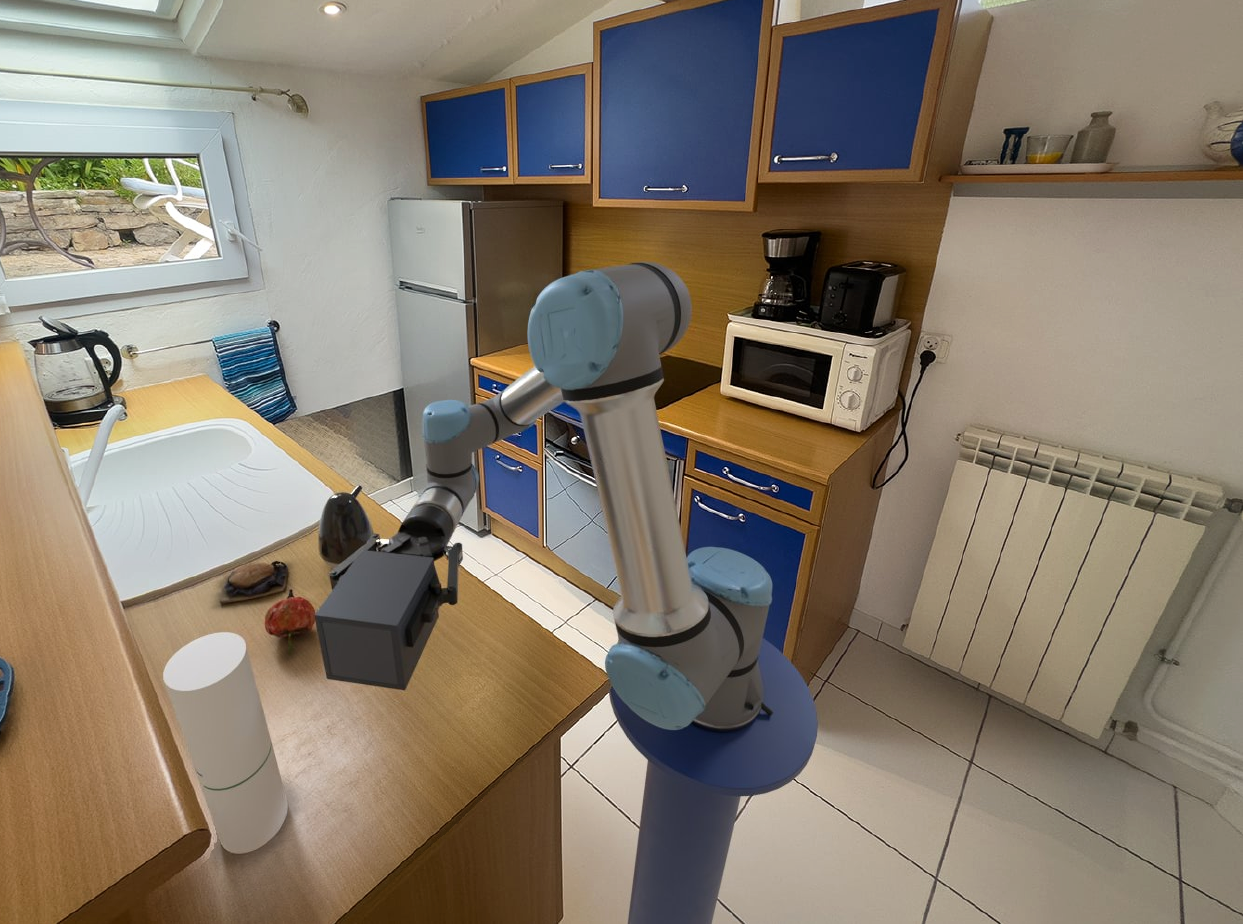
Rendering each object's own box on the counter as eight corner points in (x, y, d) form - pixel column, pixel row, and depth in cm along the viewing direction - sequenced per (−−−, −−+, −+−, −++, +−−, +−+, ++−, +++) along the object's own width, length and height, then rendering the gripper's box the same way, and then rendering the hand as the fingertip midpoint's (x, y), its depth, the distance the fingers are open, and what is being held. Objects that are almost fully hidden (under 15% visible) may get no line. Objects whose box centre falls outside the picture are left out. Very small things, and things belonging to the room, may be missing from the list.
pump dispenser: (389, 553, 109) (381, 487, 104) (351, 586, 101) (340, 515, 95) (349, 539, 113) (339, 474, 107) (310, 570, 105) (296, 501, 99)
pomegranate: (320, 654, 89) (326, 590, 94) (300, 650, 83) (308, 582, 88) (274, 659, 89) (283, 595, 94) (250, 655, 83) (261, 586, 88)
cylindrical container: (266, 776, 69) (224, 622, 59) (300, 811, 65) (260, 653, 56) (207, 827, 64) (149, 666, 54) (239, 869, 60) (184, 704, 50)
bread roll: (218, 607, 95) (213, 591, 94) (226, 576, 103) (222, 560, 101) (285, 593, 99) (281, 577, 97) (288, 564, 106) (285, 548, 105)
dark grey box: (439, 616, 76) (434, 557, 72) (405, 691, 65) (397, 626, 62) (370, 608, 78) (362, 549, 74) (326, 679, 67) (313, 615, 63)
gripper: (502, 551, 85) (459, 669, 65) (365, 536, 88) (282, 644, 68) (501, 510, 82) (456, 619, 62) (359, 496, 86) (271, 596, 65)
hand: (365, 632), depth 65 cm, fingers closed on dark grey box, 10 cm apart
